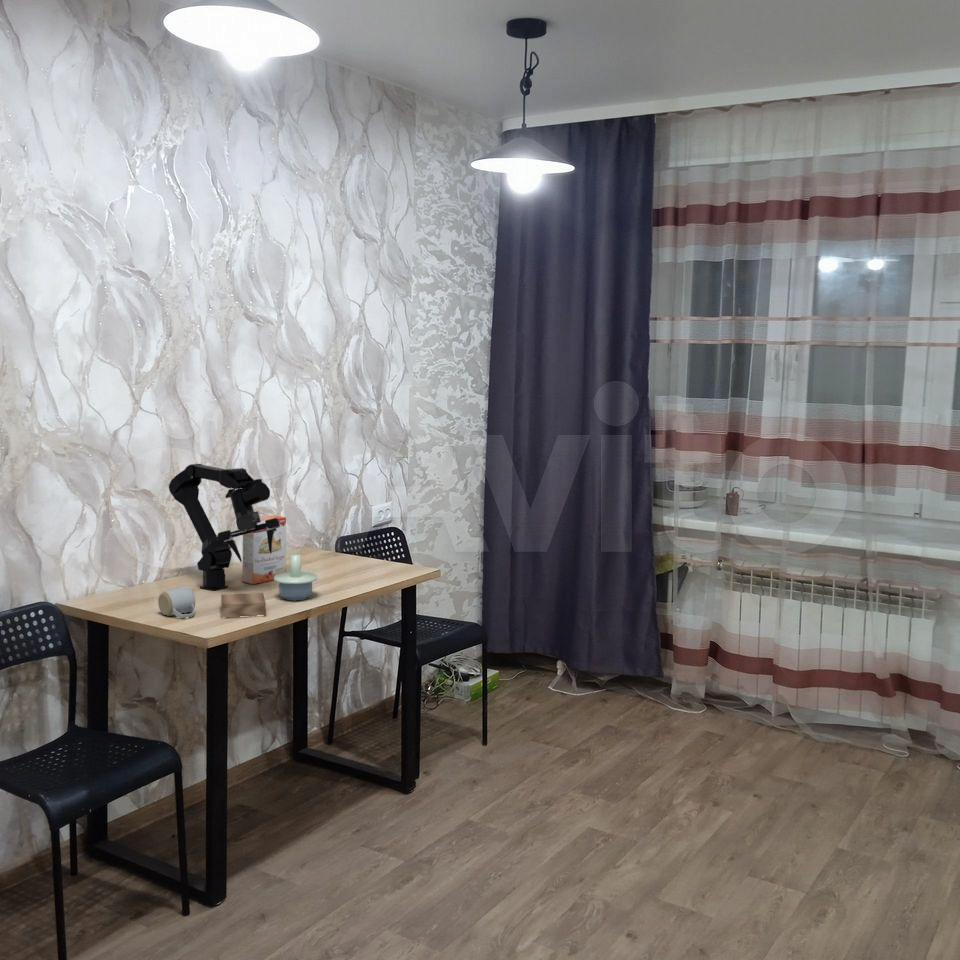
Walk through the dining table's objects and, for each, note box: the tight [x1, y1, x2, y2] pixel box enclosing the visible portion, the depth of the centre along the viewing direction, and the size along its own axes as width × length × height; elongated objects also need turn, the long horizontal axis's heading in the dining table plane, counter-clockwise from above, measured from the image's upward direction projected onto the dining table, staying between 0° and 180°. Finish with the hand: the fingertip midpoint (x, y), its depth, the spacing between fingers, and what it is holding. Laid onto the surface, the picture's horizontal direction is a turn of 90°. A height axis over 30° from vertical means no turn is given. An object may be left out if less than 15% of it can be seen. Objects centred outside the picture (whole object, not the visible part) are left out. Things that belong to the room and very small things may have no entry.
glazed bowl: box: [278, 582, 313, 601], centre depth 301 cm, size 10×10×6 cm
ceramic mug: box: [157, 585, 196, 619], centre depth 279 cm, size 11×8×8 cm
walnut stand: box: [220, 592, 267, 618], centre depth 283 cm, size 12×12×4 cm
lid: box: [273, 553, 318, 584], centre depth 300 cm, size 13×13×8 cm
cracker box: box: [242, 515, 287, 585], centre depth 322 cm, size 14×6×21 cm, turn 143°
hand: (256, 557), depth 300 cm, fingers open, 9 cm apart
